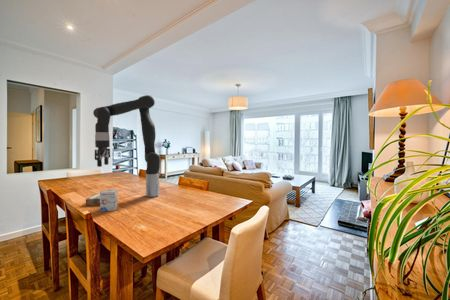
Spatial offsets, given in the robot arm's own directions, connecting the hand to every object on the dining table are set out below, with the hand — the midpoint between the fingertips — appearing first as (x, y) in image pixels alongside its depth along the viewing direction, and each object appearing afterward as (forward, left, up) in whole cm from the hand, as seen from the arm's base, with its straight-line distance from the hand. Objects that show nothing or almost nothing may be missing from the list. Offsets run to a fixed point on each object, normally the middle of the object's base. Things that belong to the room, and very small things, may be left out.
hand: (103, 165), depth 119 cm
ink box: (-5, +5, -27) cm, 28 cm away
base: (+6, -11, -27) cm, 29 cm away
